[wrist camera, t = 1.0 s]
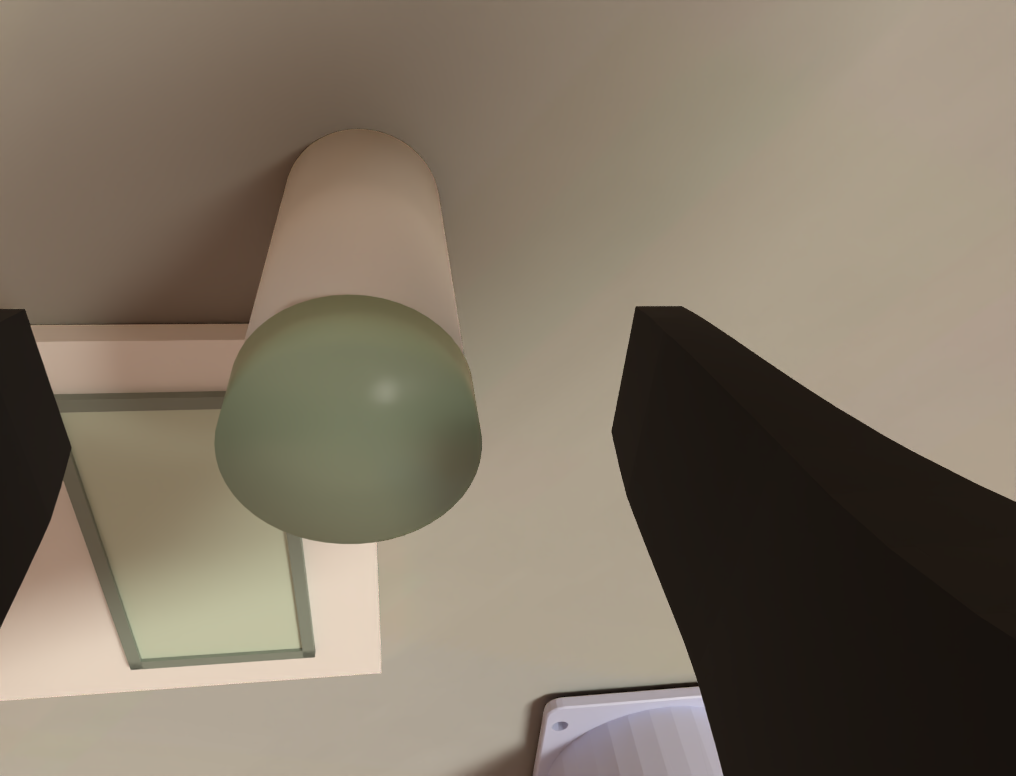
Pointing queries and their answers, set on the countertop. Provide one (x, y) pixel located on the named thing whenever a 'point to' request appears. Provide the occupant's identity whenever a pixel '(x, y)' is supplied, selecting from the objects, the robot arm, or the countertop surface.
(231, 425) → the green and white capsule
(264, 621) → the board
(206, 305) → the countertop surface
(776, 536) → the robot arm
